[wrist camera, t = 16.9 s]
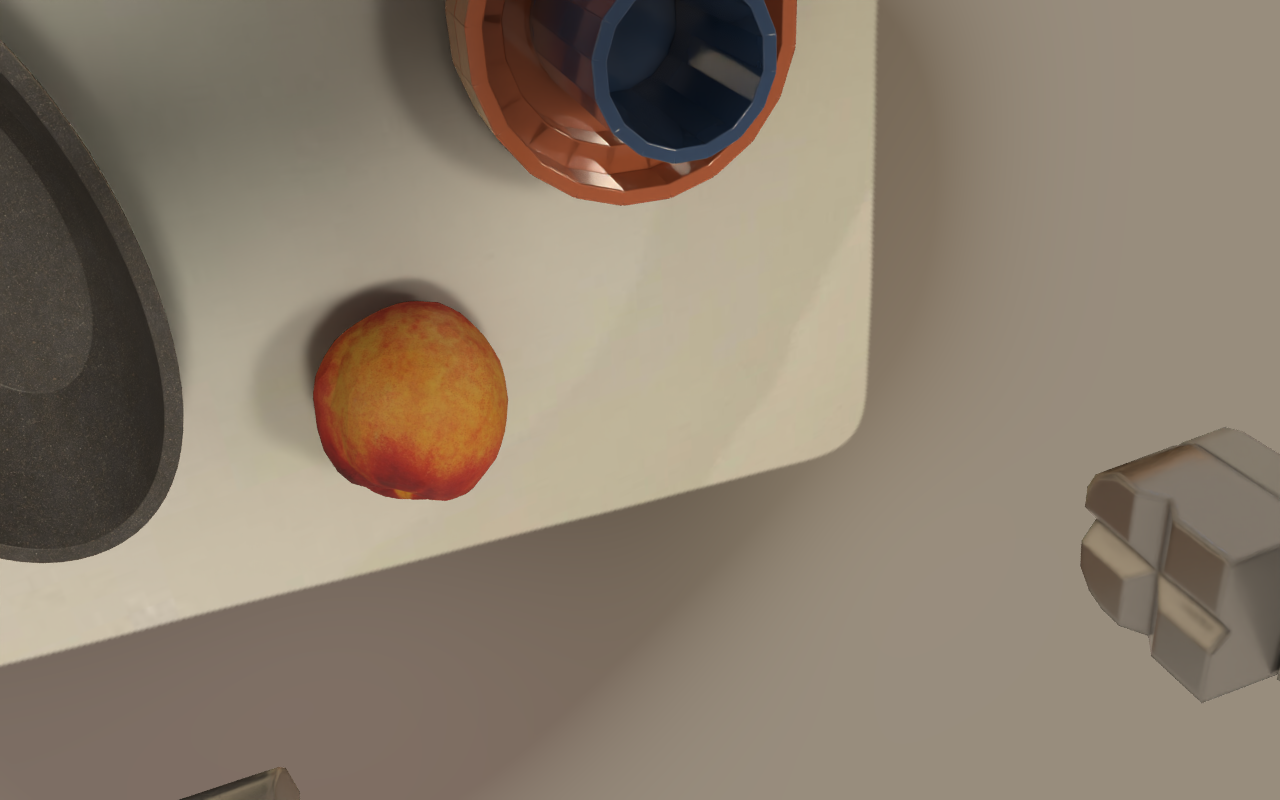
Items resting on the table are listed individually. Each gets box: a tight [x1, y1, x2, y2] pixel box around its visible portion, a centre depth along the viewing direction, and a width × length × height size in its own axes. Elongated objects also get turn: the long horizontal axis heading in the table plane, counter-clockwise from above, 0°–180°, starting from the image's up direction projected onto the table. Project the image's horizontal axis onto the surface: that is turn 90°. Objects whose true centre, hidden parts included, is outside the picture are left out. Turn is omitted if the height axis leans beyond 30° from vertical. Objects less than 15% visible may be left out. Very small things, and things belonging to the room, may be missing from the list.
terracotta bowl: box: [445, 0, 797, 206], centre depth 38 cm, size 12×12×5 cm
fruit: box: [313, 301, 508, 501], centre depth 41 cm, size 8×8×8 cm
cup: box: [529, 0, 777, 164], centre depth 36 cm, size 6×6×9 cm
